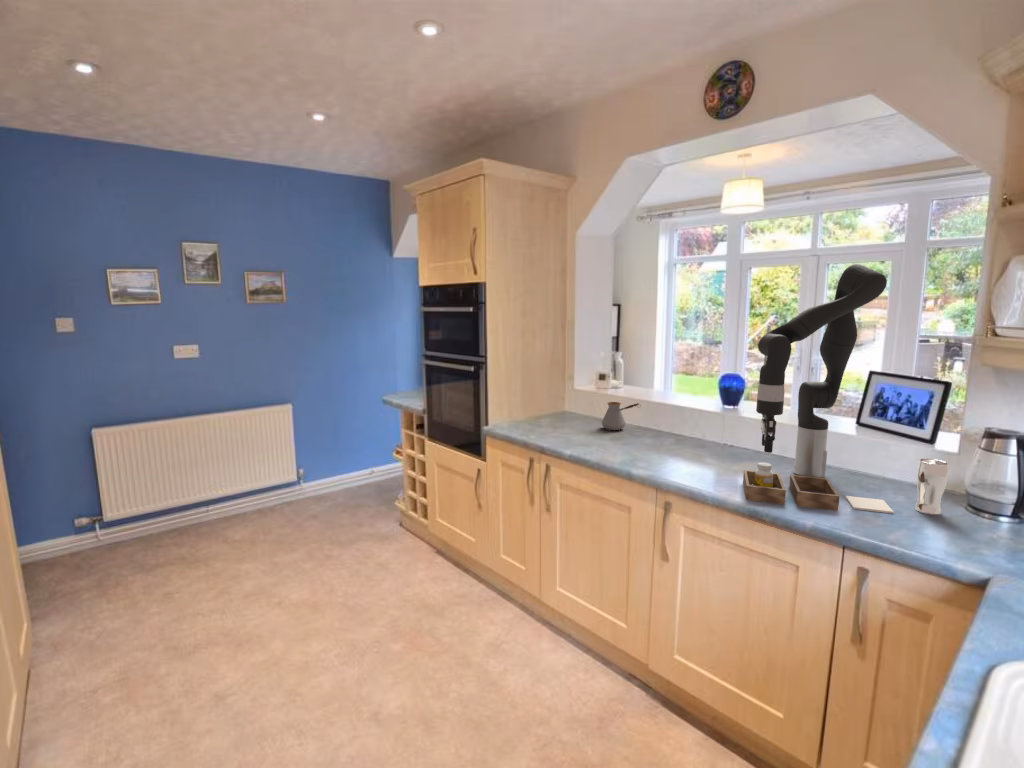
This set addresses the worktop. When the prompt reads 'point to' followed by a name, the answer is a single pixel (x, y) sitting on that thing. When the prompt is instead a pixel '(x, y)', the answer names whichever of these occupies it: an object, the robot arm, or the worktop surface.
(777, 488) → the far crate
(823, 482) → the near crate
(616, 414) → the coffee pot
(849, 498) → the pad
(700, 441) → the worktop surface
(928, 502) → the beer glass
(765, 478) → the supplement bottle
